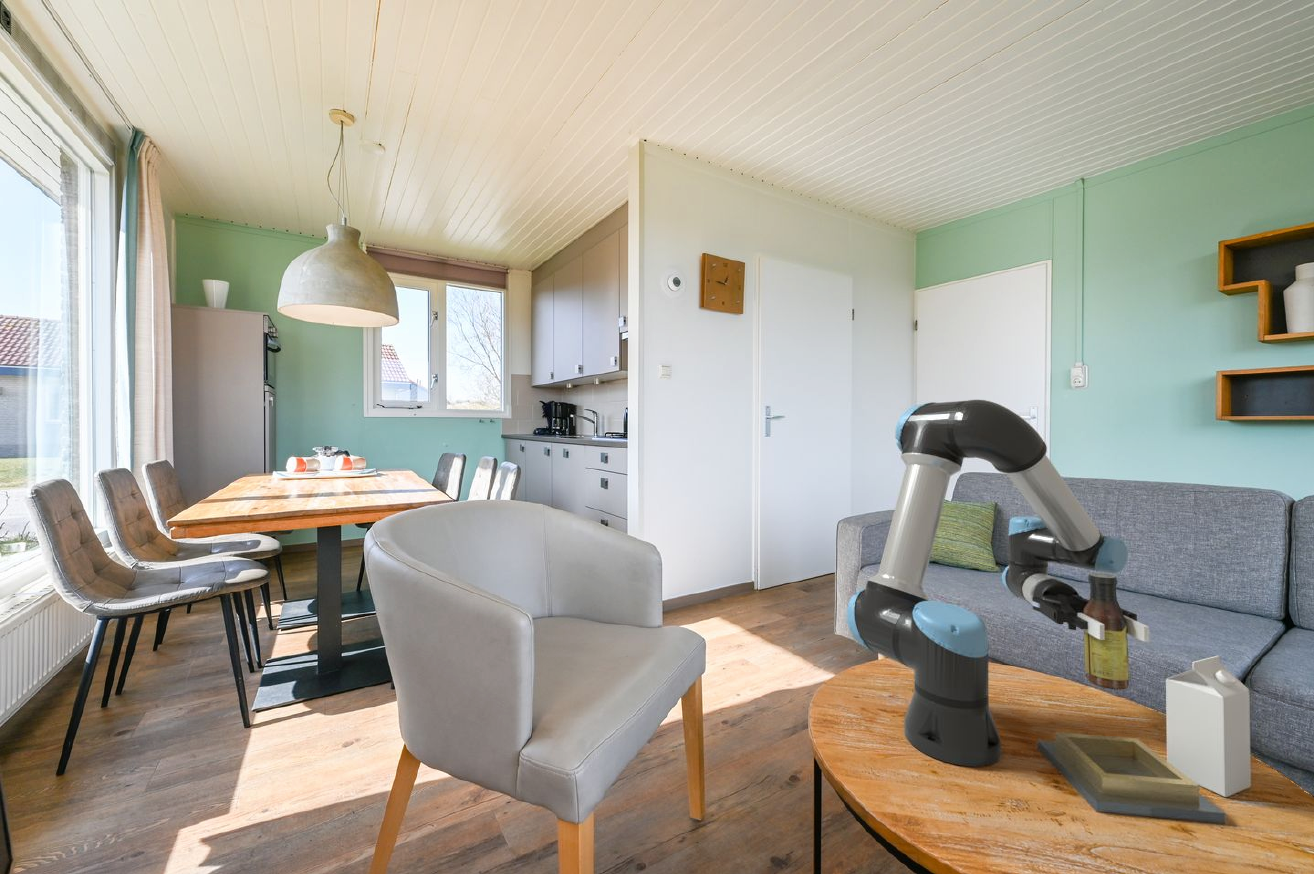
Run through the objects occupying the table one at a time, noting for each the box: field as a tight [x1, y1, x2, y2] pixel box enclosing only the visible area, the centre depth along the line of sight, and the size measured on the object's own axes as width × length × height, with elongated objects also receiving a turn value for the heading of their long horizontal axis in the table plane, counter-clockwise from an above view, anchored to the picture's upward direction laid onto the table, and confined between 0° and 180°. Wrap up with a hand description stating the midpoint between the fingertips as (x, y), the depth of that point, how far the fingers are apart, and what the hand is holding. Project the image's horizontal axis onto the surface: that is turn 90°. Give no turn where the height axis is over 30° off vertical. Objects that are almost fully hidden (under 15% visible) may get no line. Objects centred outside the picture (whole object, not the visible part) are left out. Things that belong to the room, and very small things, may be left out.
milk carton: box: [1165, 655, 1252, 798], centre depth 85 cm, size 7×7×19 cm
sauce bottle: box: [1083, 572, 1130, 691], centre depth 99 cm, size 7×6×20 cm
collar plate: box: [1036, 731, 1226, 825], centre depth 84 cm, size 16×16×4 cm
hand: (1124, 633), depth 94 cm, fingers closed on sauce bottle, 6 cm apart
